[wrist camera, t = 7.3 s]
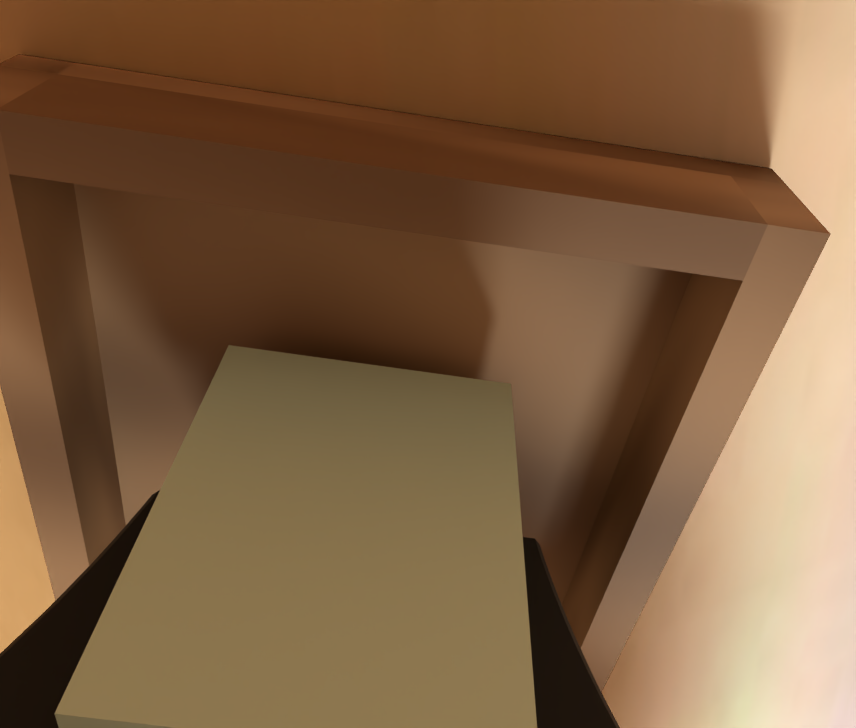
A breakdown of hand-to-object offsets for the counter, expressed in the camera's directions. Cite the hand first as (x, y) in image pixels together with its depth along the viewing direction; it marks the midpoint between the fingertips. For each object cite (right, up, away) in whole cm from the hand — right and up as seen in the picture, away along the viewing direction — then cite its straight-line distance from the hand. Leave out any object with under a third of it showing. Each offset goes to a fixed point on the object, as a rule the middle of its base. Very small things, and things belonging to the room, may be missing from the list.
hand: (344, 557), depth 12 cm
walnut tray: (0, +2, +3) cm, 3 cm away
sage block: (0, +1, +1) cm, 2 cm away
